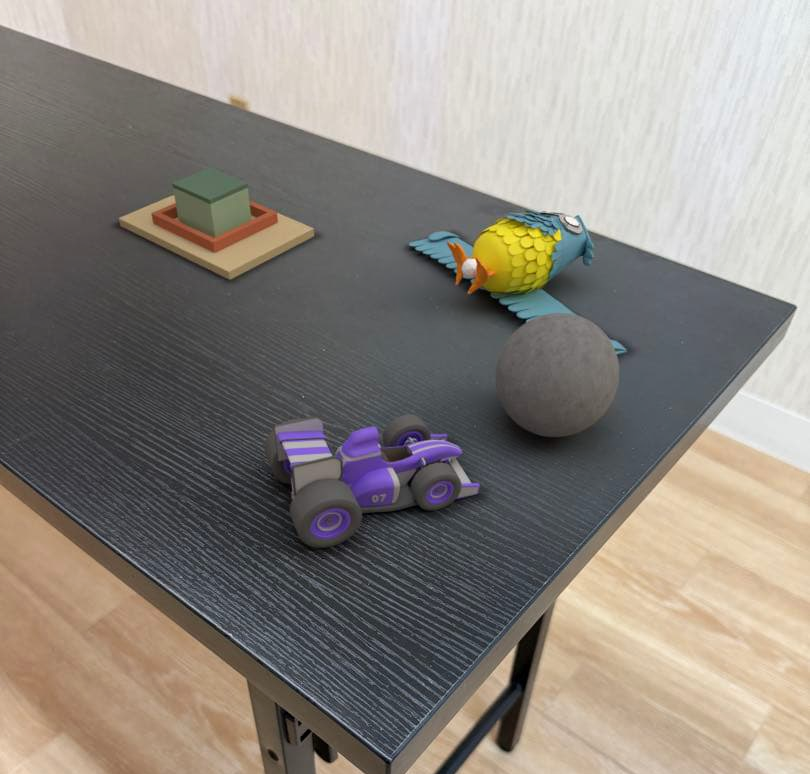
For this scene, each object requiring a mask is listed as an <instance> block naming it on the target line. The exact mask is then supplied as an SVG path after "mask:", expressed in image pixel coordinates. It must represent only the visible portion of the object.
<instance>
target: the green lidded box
mask: <svg viewBox="0 0 810 774" xmlns="http://www.w3.org/2000/svg"><path fill="white" fill-rule="evenodd" d="M171 184H172V185H171V186H172V191H173V195H174V197H175V202H176V208H177V213H178V219H179V222H181V223H183V224H185V225H187V226H190V227H192V228H194V229H196V230H198V231H200V232H202V233H205V234H207V235H209V236H211V237H213V238H215V237H217V236H219V235H221V234H223V233H225V232H227V231H229V230H231V229H234V228H236V227H238V226H240V225H242V224H244V223H246V222H248V221H251V212H250V203H249V200H250V195H249V186H248V185H249V184H248V182H246V181H243V180H240V179H238V178H235V177H233V176H232V175H231V176H230V175H228V174H226V173H224V172H222V171H220V170H216V169H214V168H212V167H208V168H206V169H203V170H200V171H199V172H196V173H194V174H191V175H189V176H185V177H183V178H182V179H179V180H177V181H174V182H171Z"/></svg>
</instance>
